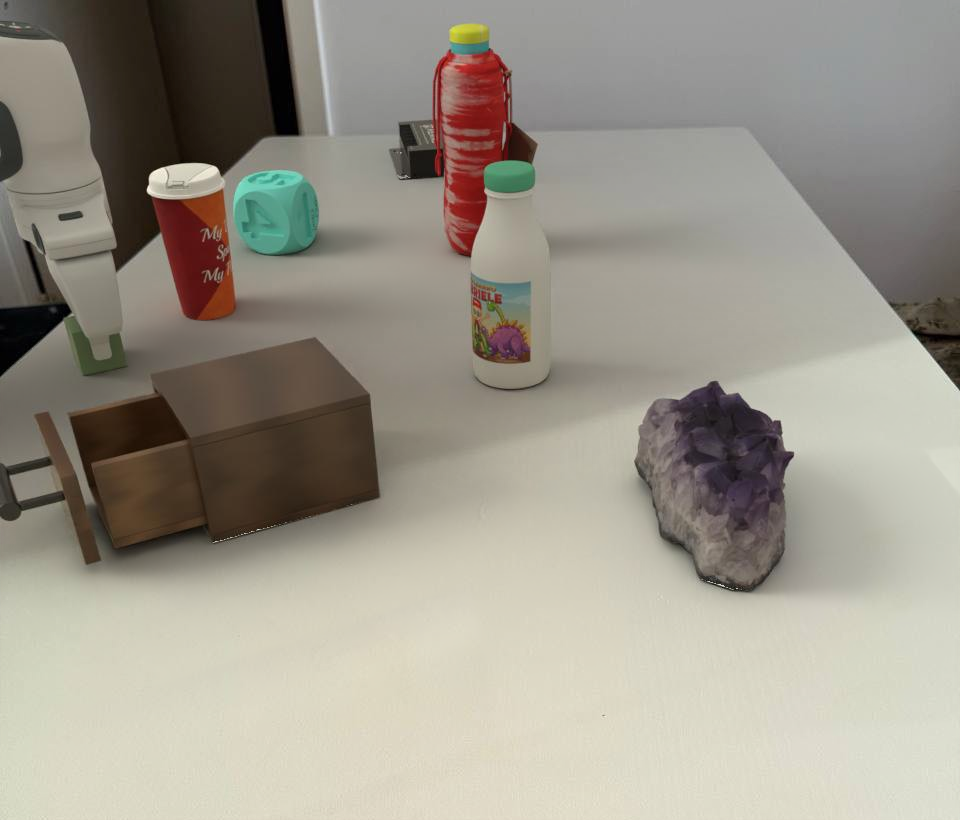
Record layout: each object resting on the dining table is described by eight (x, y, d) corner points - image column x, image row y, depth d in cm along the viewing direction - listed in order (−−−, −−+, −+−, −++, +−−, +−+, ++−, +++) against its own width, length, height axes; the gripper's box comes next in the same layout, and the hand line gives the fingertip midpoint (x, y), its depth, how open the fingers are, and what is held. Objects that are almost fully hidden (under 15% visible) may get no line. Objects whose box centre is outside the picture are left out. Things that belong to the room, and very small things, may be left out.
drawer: (22, 583, 86) (-9, 494, 81) (0, 512, 94) (-30, 428, 89) (253, 519, 92) (237, 433, 87) (213, 458, 100) (197, 376, 95)
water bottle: (531, 234, 145) (531, 14, 129) (539, 256, 139) (540, 28, 123) (437, 239, 144) (426, 19, 129) (441, 262, 138) (429, 34, 123)
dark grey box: (388, 149, 177) (379, 26, 166) (477, 142, 178) (473, 20, 167) (401, 188, 161) (391, 55, 150) (498, 180, 163) (495, 48, 152)
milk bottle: (511, 350, 118) (508, 148, 105) (566, 372, 114) (570, 164, 101) (457, 375, 114) (448, 168, 101) (512, 398, 109) (510, 185, 97)
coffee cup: (238, 323, 126) (214, 183, 116) (165, 325, 126) (135, 186, 116) (251, 294, 132) (230, 159, 123) (181, 295, 132) (154, 161, 123)
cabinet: (212, 544, 91) (190, 438, 85) (172, 474, 100) (149, 373, 94) (380, 497, 96) (370, 393, 90) (327, 434, 105) (315, 336, 99)
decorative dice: (295, 257, 141) (286, 191, 136) (238, 252, 143) (227, 187, 138) (322, 236, 147) (315, 172, 142) (267, 231, 149) (258, 167, 144)
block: (83, 376, 116) (71, 333, 113) (74, 359, 119) (63, 317, 117) (127, 366, 118) (117, 324, 115) (118, 349, 121) (107, 308, 118)
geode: (837, 586, 84) (844, 474, 78) (683, 614, 85) (677, 505, 78) (759, 444, 100) (759, 340, 93) (629, 468, 100) (620, 367, 93)
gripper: (11, 187, 115) (47, 317, 124) (47, 248, 101) (85, 391, 109) (74, 177, 117) (105, 306, 126) (118, 235, 103) (150, 376, 111)
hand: (96, 346), depth 117 cm, fingers closed on block, 4 cm apart
